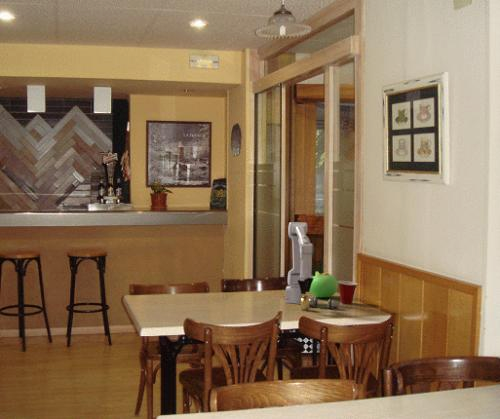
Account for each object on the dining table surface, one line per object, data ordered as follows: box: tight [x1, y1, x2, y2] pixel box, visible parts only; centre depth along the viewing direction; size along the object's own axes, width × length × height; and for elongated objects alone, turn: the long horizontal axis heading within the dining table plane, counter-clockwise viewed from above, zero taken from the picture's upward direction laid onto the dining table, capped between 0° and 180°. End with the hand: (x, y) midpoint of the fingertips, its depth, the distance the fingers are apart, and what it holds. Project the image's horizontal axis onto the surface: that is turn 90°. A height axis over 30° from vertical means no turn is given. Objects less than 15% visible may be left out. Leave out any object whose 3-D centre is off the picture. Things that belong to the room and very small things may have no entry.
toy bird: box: [309, 271, 339, 299], centre depth 415 cm, size 18×17×15 cm
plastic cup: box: [337, 280, 358, 305], centre depth 399 cm, size 11×11×12 cm
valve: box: [300, 294, 310, 312], centre depth 377 cm, size 4×4×8 cm
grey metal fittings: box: [308, 297, 340, 311], centre depth 384 cm, size 17×6×5 cm, turn 70°
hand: (305, 293), depth 376 cm, fingers open, 7 cm apart
